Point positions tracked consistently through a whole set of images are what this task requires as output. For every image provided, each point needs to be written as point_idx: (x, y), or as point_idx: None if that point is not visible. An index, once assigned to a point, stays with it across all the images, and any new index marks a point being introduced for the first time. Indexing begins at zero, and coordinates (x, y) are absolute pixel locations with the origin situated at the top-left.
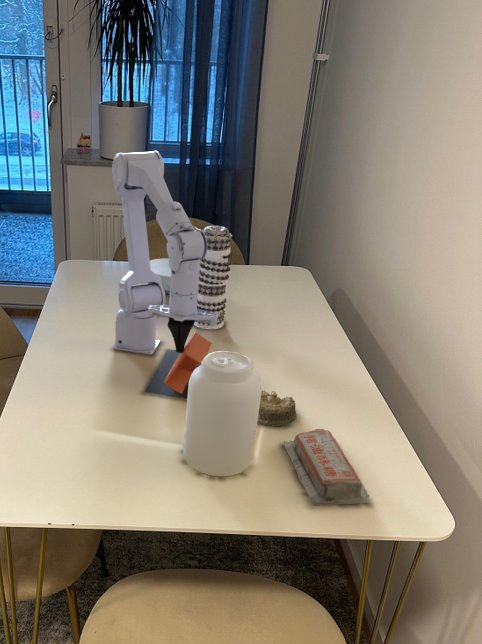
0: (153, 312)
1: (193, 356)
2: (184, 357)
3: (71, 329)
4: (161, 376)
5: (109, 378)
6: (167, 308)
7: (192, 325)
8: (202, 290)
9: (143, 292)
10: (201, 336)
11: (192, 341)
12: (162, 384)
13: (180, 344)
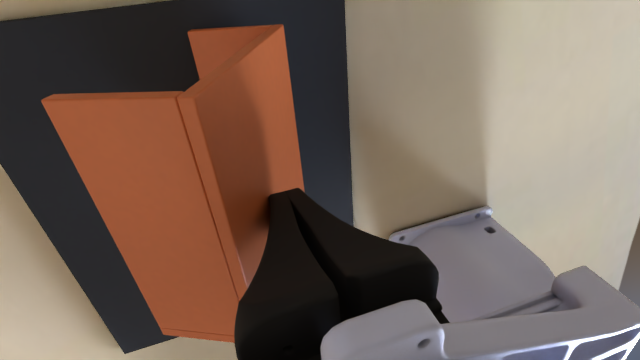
0: (583, 306)
1: (127, 112)
2: None
3: (586, 232)
4: (322, 131)
5: (481, 37)
6: None
7: (236, 352)
8: None
9: None
10: (223, 339)
11: (229, 265)
12: (298, 76)
13: (288, 214)
